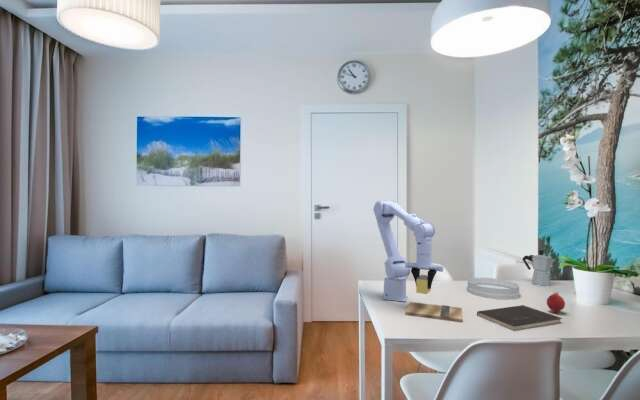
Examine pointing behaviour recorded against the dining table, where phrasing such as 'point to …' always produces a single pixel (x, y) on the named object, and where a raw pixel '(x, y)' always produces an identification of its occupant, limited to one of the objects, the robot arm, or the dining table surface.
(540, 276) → the coffee maker
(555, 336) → the dining table surface
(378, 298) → the dining table surface
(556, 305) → the onion
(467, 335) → the dining table surface
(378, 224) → the robot arm
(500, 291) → the dish
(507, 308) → the hardcover book
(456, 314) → the board
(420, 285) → the block
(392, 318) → the dining table surface
